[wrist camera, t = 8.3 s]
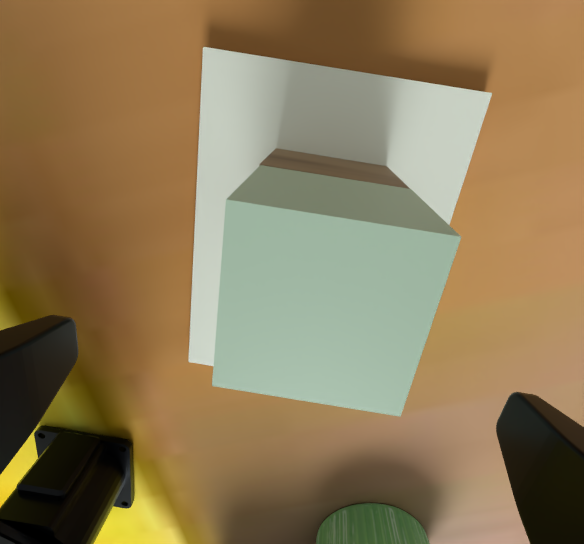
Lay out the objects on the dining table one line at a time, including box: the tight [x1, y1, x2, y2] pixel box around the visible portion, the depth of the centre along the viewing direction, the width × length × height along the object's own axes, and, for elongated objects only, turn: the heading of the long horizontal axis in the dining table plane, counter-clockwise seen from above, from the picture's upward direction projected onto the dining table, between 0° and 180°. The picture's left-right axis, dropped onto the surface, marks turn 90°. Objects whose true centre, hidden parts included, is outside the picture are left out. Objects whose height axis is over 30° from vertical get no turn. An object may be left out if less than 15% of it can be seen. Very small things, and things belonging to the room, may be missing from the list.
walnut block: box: [259, 148, 410, 189], centre depth 16 cm, size 5×5×5 cm
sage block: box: [212, 165, 461, 416], centre depth 11 cm, size 5×5×5 cm
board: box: [189, 47, 492, 366], centre depth 19 cm, size 16×12×1 cm
